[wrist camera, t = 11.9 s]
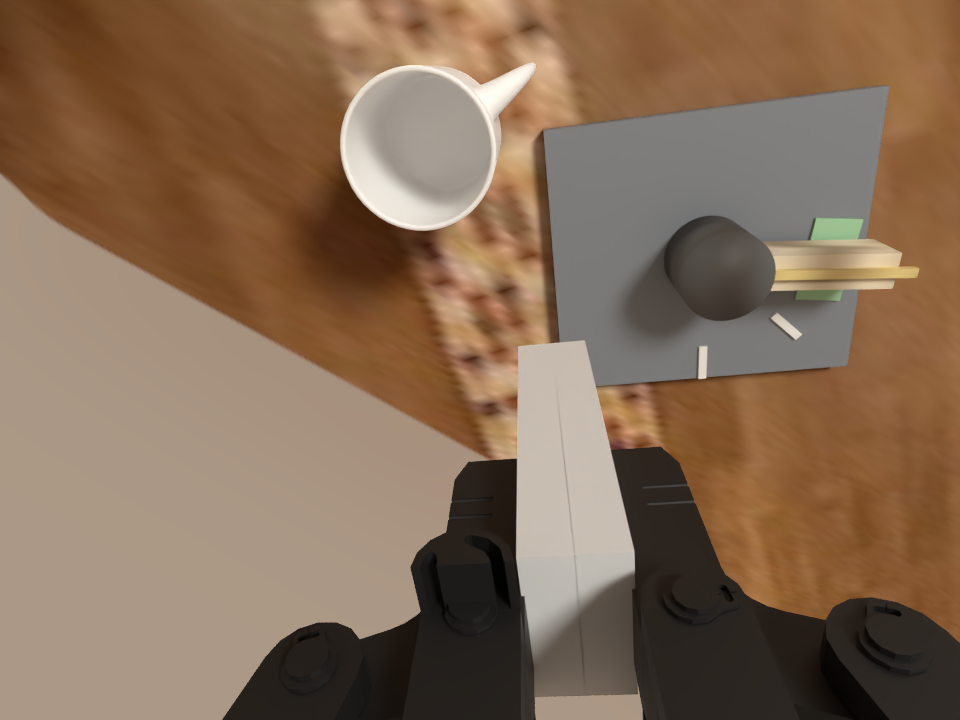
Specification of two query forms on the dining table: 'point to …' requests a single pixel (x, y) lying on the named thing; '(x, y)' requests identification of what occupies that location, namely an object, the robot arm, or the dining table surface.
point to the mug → (425, 142)
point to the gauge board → (696, 193)
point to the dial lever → (768, 266)
